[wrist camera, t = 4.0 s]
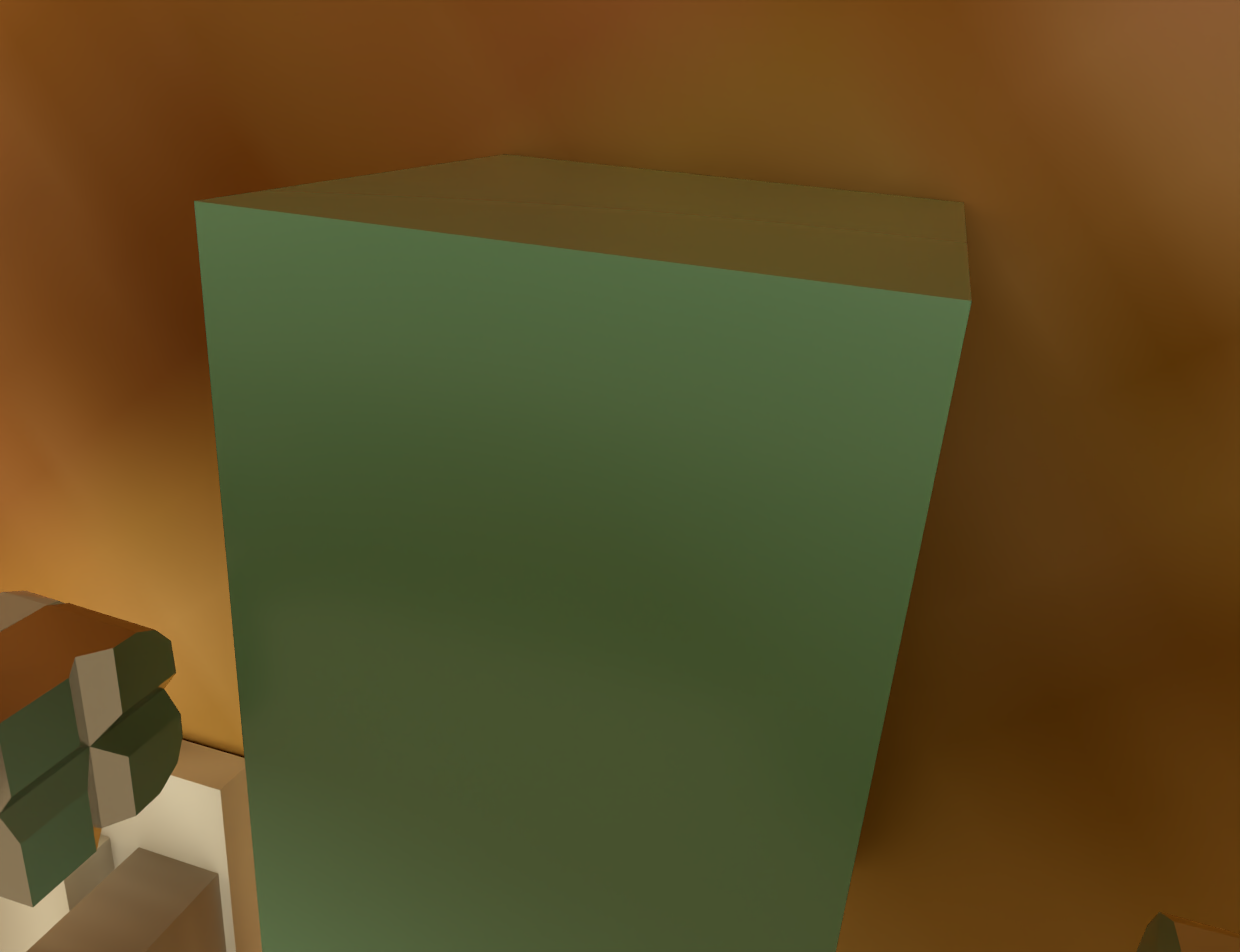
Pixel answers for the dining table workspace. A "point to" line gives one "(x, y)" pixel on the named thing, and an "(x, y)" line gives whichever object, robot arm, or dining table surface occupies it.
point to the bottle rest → (158, 874)
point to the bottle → (570, 544)
